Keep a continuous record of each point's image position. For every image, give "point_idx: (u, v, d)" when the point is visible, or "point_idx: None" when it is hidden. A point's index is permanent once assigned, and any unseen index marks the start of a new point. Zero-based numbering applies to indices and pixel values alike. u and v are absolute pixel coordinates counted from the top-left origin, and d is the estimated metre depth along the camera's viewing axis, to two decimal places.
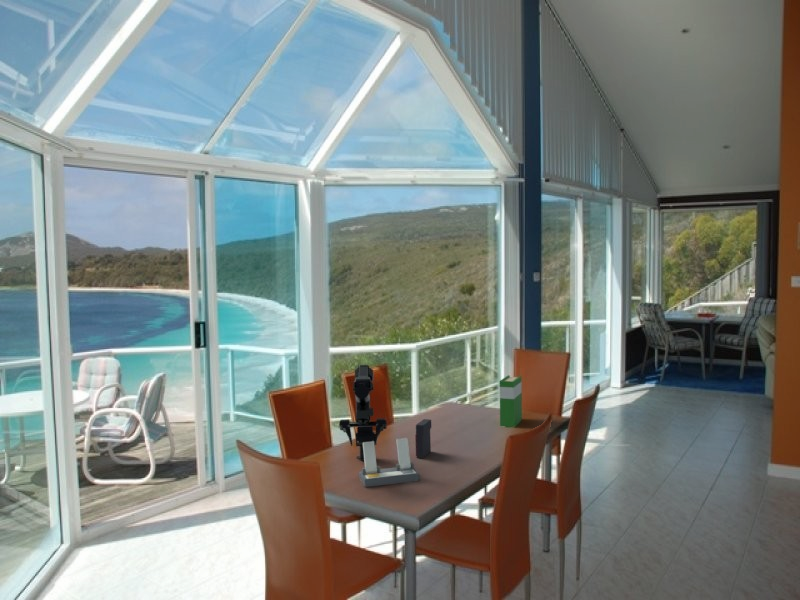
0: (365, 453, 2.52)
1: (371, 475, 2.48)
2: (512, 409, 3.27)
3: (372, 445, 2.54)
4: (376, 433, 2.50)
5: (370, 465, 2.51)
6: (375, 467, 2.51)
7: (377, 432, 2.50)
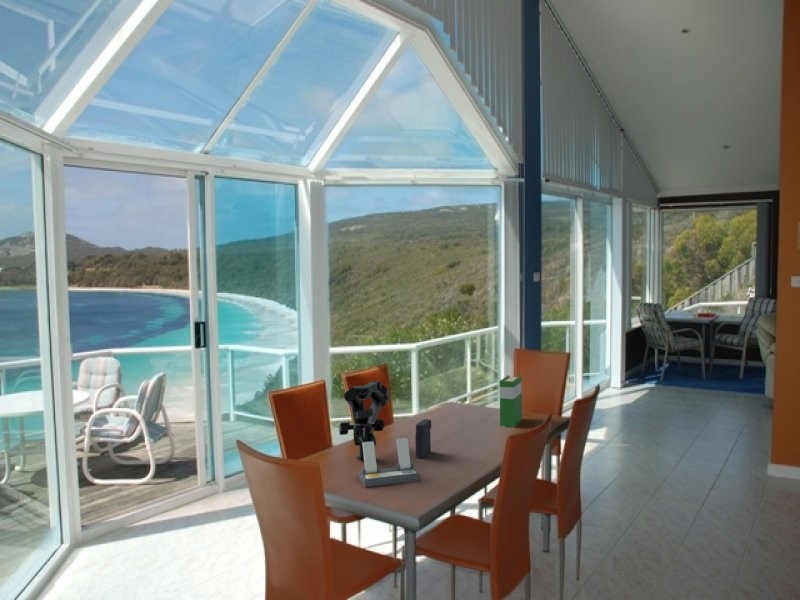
0: (365, 453, 2.52)
1: (371, 475, 2.48)
2: (512, 409, 3.27)
3: (372, 445, 2.54)
4: (365, 433, 2.62)
5: (370, 465, 2.51)
6: (375, 467, 2.51)
7: (366, 432, 2.63)
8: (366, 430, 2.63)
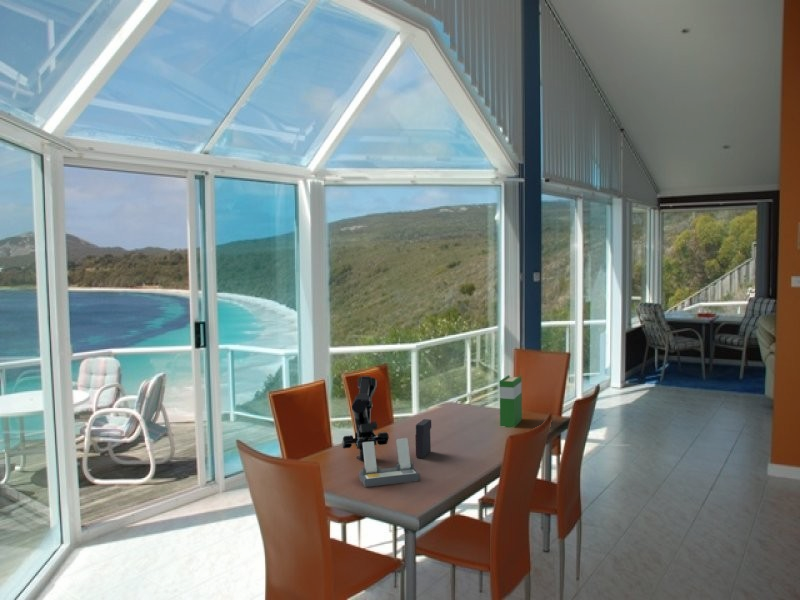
0: (365, 453, 2.52)
1: (371, 475, 2.48)
2: (512, 409, 3.27)
3: (372, 445, 2.54)
4: None
5: (370, 465, 2.51)
6: (375, 467, 2.51)
7: None
8: None
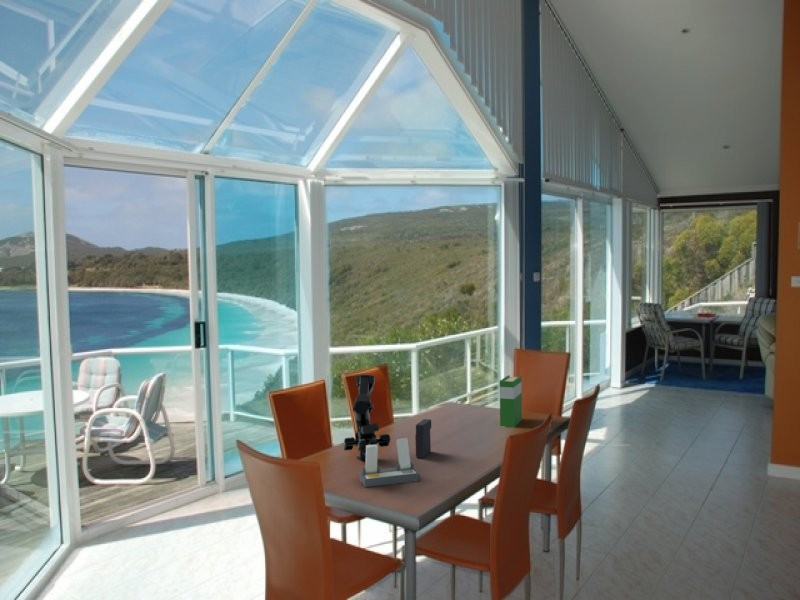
0: (367, 457, 2.48)
1: (371, 475, 2.48)
2: (512, 409, 3.27)
3: (375, 450, 2.48)
4: None
5: (371, 467, 2.50)
6: (375, 469, 2.51)
7: None
8: None
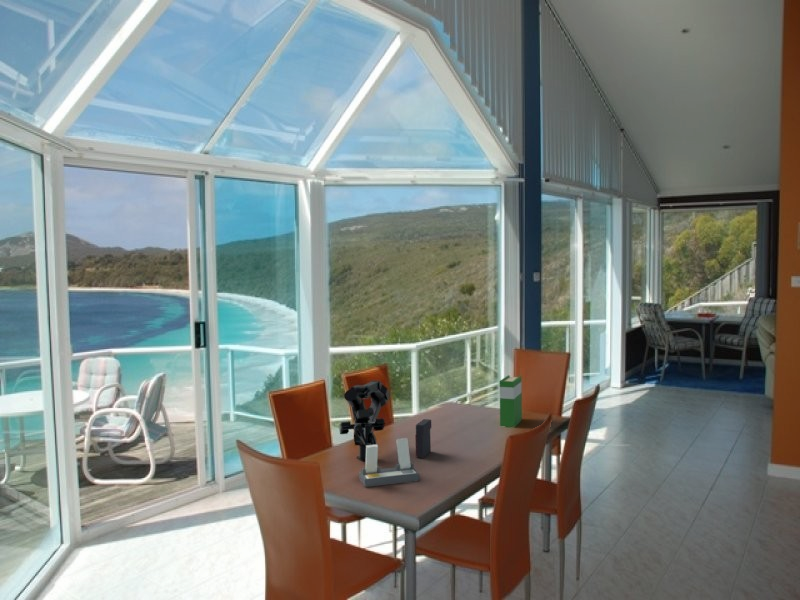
0: (367, 457, 2.48)
1: (371, 475, 2.48)
2: (512, 409, 3.27)
3: (375, 450, 2.48)
4: (366, 433, 2.63)
5: (371, 467, 2.50)
6: (375, 469, 2.51)
7: (367, 432, 2.63)
8: (367, 429, 2.63)
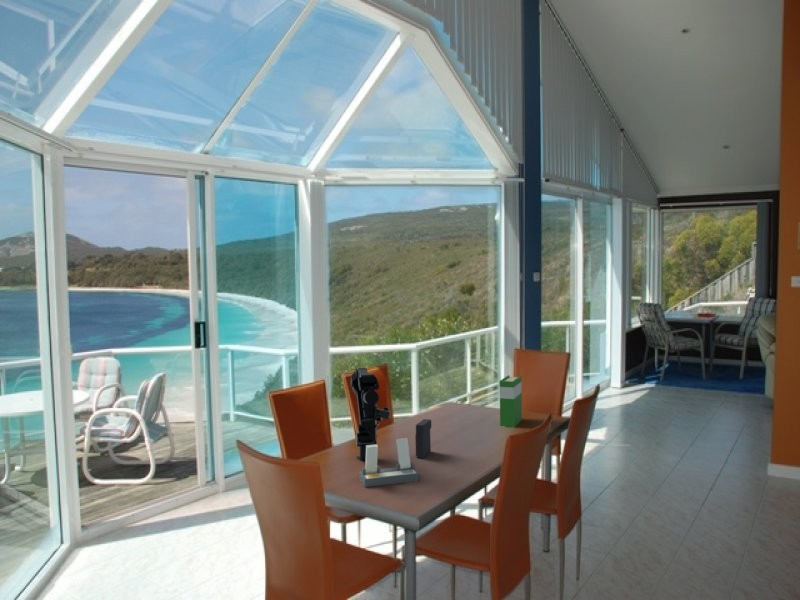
0: (367, 457, 2.48)
1: (371, 475, 2.48)
2: (512, 409, 3.27)
3: (375, 450, 2.48)
4: (376, 430, 2.67)
5: (371, 467, 2.50)
6: (375, 469, 2.51)
7: (376, 429, 2.67)
8: None
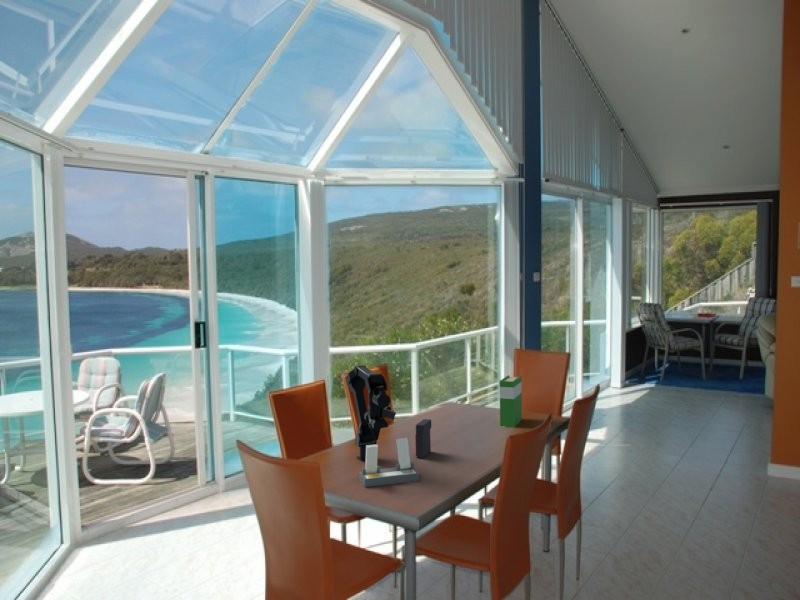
0: (367, 457, 2.48)
1: (371, 475, 2.48)
2: (512, 409, 3.27)
3: (375, 450, 2.48)
4: None
5: (371, 467, 2.50)
6: (375, 469, 2.51)
7: None
8: None
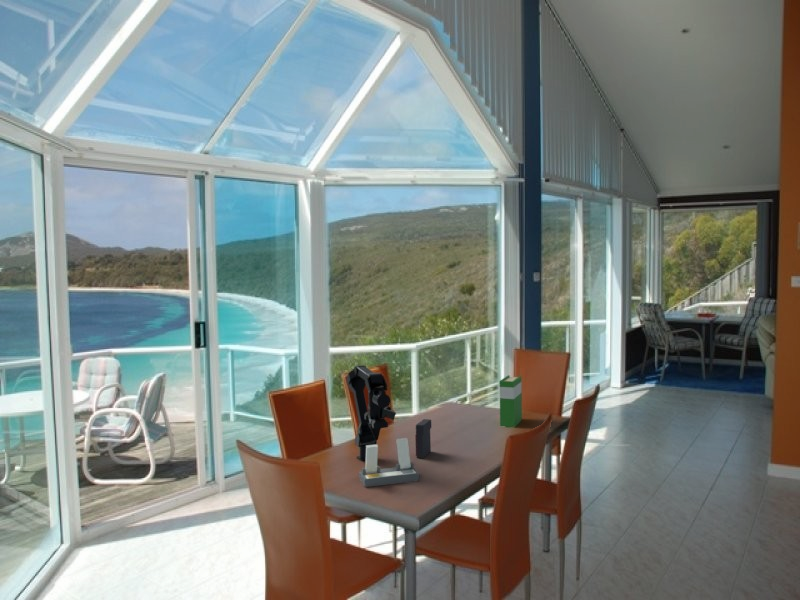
0: (367, 457, 2.48)
1: (371, 475, 2.48)
2: (512, 409, 3.27)
3: (375, 450, 2.48)
4: None
5: (371, 467, 2.50)
6: (375, 469, 2.51)
7: None
8: None
